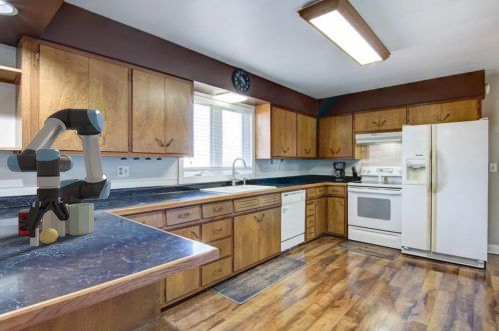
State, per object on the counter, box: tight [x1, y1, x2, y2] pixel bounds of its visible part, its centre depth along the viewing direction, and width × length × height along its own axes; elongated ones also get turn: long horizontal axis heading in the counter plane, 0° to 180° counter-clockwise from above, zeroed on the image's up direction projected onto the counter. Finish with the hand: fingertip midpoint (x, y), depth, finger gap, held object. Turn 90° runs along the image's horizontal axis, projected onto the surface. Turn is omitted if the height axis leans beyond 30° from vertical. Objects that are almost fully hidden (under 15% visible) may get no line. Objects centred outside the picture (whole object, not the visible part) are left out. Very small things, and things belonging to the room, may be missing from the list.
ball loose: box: [39, 228, 59, 245], centre depth 106 cm, size 6×6×6 cm
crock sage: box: [67, 202, 95, 236], centre depth 123 cm, size 10×10×13 cm
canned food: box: [17, 208, 41, 237], centre depth 121 cm, size 8×8×11 cm
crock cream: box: [41, 204, 69, 235], centre depth 120 cm, size 10×10×13 cm
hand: (48, 240), depth 106 cm, fingers open, 12 cm apart
